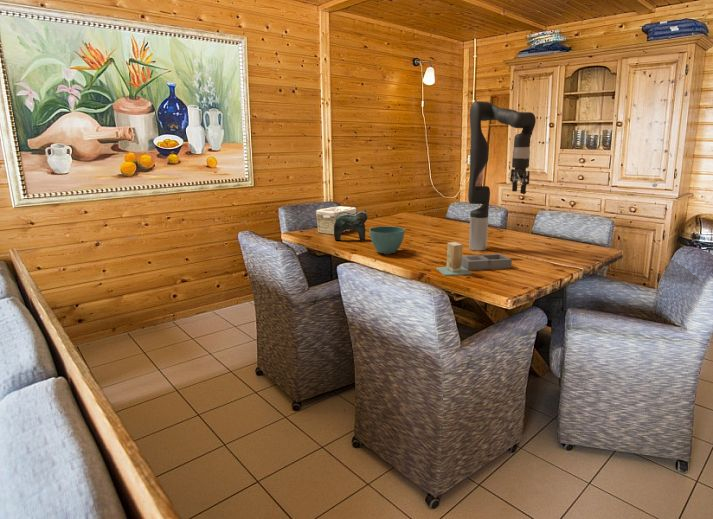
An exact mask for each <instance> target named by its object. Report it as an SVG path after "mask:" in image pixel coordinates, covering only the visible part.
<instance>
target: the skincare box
mask: <svg viewBox="0 0 713 519" xmlns="http://www.w3.org/2000/svg"><path fill="white" fill-rule="evenodd" d="M463 247H464V246H463V244H461V243H459V242H457V241H453V242H452V241H451V242H447V249H446V250H447V251H446V266H445V267H446V269H448V270H450V271H452V272H459V271H461V263H462V256H463Z"/></svg>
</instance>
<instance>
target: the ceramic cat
mask: <svg viewBox="0 0 713 519" xmlns="http://www.w3.org/2000/svg"><path fill="white" fill-rule="evenodd" d="M350 207H351V208H352V207H353V208H356V209H357V211H356V213H355V214H356V215H354V214H350V213H348V214H346V215H341V216H339V217H338V218H337V216H338V215H339V214H342V213H347V212H342V213H339V214H338V215H337V216H336V218H337V219H336V222H335V224H334V234H333V236H334V241H335V240H340V241H341V238H342V236H341V235H342V233H344V232H343V231H345V230H351V231H356V232H357V235H358V237H359V241H360V240H365V241H366V224H365V223H366V222H367V220H368V218H369V215H368V212H367V210H366V209H363V210H362V211H358V208H357V207H356V206H354V205H353V206H350Z"/></svg>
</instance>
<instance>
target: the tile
mask: <svg viewBox="0 0 713 519" xmlns="http://www.w3.org/2000/svg"><path fill="white" fill-rule="evenodd" d="M435 269H436V270H437V271H438V270H439V271H438V272H440V273H441V274H442V275H443V276H445V277H447V276H465V275H472V272H471V271H470V270H467V269H465V268H464V267H462V266H461V271H459V272H452V271H450V270H448V269H446V266H438V267H436V268H435Z"/></svg>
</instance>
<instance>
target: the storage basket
mask: <svg viewBox="0 0 713 519" xmlns="http://www.w3.org/2000/svg"><path fill="white" fill-rule="evenodd" d="M351 207H352V208H351ZM356 208H357V207H356ZM356 208H355V207H353V206H342V205H339V206H333V207H332V206H331V207H327V208H320V209H317V210H316V211H315V215H316V222H317V223H316V224H317V232H318V233H322V234H327V235H334V224H335V222H336V219H337V218H338V217H339V216H341V215H346V214H348V213H350V214H354V215H356V214H355V213H356V211H358V208H357V209H356ZM342 212H347V213H342ZM339 213H342V214H339ZM338 214H339V215H338ZM337 215H338V216H337ZM336 216H337V218H336ZM345 231H348V232H351V231H350V230H345ZM345 231H343V232H342V233H346V232H345Z"/></svg>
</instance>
